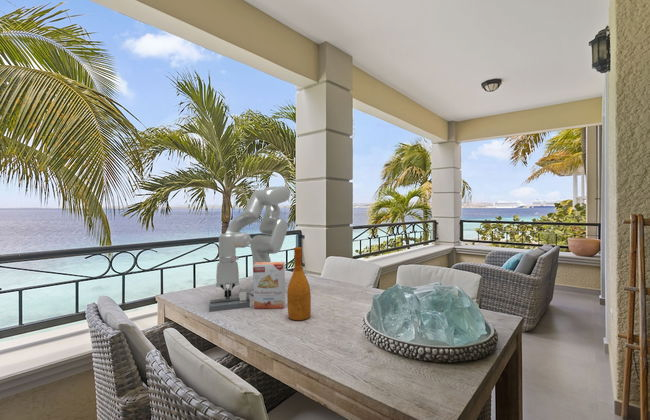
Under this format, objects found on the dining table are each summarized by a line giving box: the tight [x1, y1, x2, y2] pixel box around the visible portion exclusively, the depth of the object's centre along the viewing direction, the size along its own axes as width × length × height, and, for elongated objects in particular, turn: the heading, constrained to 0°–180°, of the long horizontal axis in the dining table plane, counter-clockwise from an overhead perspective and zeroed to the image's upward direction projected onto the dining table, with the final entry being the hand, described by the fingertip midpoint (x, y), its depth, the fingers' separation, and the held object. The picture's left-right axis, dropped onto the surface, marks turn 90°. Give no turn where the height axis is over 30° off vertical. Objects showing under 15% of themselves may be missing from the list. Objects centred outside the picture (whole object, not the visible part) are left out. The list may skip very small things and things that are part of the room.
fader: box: [238, 287, 247, 301], centre depth 151 cm, size 3×5×5 cm, turn 17°
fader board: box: [208, 292, 251, 313], centre depth 149 cm, size 18×10×4 cm, turn 107°
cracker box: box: [252, 261, 286, 310], centre depth 147 cm, size 14×6×21 cm, turn 90°
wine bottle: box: [286, 246, 312, 321], centre depth 133 cm, size 10×10×30 cm
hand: (227, 298), depth 149 cm, fingers closed
